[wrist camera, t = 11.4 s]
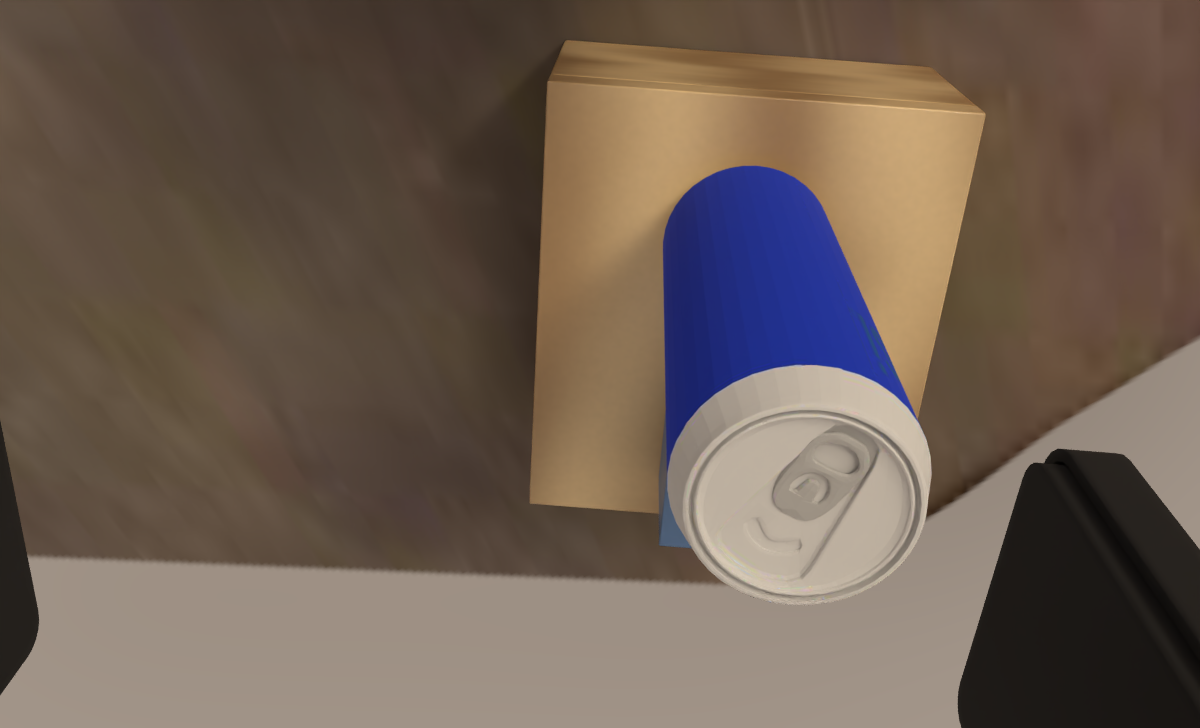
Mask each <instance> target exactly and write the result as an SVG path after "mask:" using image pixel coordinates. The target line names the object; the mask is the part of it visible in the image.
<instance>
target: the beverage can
mask: <svg viewBox="0 0 1200 728" xmlns="http://www.w3.org/2000/svg"><path fill="white" fill-rule="evenodd" d="M663 286H664V342H665V398H666V455H667V492H668V497H669V503H670V507H671V510H672V513H673V515H674V518H675V521H676V523H677V525H678V526H679V528H680V530H681V531H682V533H683V535H684V536H685V538H686V540H687V541H688V543H689V544H690V546H691V547H692V549H693V550H694V552H695V553H696V555H697V557H698V558H699V559H700V561H701V562H702V563H703V564H704V565H705V566H706V568H707V569H708V570H709V571H710V572H711V573H713V574H714V575H715V576H716V577H717V578H719V579H720V580H721V581H722V582H724V583H726V584H727V585H729V586H731V587H732V588H734V589H736V590H737V591H739V592H742V593H744V594H747V595H749V596H751V597H753V598H757V599H760V600H764V601H768V602H772V603H778V604H785V605H814V604H825V603H829V602H833V601H838V600H843V599H845V598H848V597H851V596H853V595H856V594H859V593H861V592H863V591H865V590H867V589H869V588H871V587H873V586H875V585H876V584H878V583H879V582H881V581H882V580H883V579H885V578H886V577H888V576H889V575H890V574H891V573H892V572H893V571H895V569H897V568H898V567H899V566H900V565H901V564H902V563H903V562H904V560H905V559H906V558H907V556H908V555H909V554H910V552H911V551H912V550H913V548H914V546H915V544H916V542H917V541H918V539H919V537H920V534H921V532H922V528H923V526H924V522H925V519H926V512H927V505H928V496H929V489H930V482H931V457H930V453H929V449H928V444H927V440H926V438H925V435H924V433H923V431H922V429H921V426H920V424H919V422H918V420H917V417H916V415H915V413H914V411H913V408H912V406H911V404H910V402H909V399H908V397H907V395H906V393H905V390H904V388H903V386H902V384H901V382H900V379H899V377H898V375H897V373H896V370H895V368H894V366H893V364H892V361H891V359H890V357H889V355H888V352H887V350H886V348H885V346H884V343H883V341H882V339H881V337H880V334H879V332H878V330H877V328H876V325H875V323H874V321H873V319H872V316H871V314H870V312H869V310H868V307H867V305H866V303H865V301H864V298H863V296H862V294H861V292H860V289H859V287H858V285H857V283H856V281H855V278H854V276H853V274H852V272H851V269H850V267H849V265H848V263H847V260H846V258H845V256H844V254H843V251H842V249H841V247H840V245H839V242H838V240H837V238H836V236H835V233H834V231H833V229H832V227H831V224H830V222H829V220H828V218H827V215H826V213H825V211H824V209H823V207H822V205H821V203H820V202H819V200H818V199H817V198H816V196H815V195H814V194H813V193H812V192H811V190H810V189H809V188H808V187H807V186H806V185H804V184H803V183H802V182H800V181H799V180H797V179H796V178H795V177H793V176H791V175H789V174H787V173H785V172H782V171H779V170H776V169H773V168H769V167H762V166H739V167H732V168H728V169H725V170H722V171H718V172H716V173H714V174H712V175H710V176H708V177H706V178H704V179H702V180H701V181H700V182H698V183H697V184H695V185H694V186H693V187H692V188H690V189H689V190H688V191H687V192H686V193H685V194H684V195H683V196H682V198H681V199H680V200H679V202H678V203H677V204H676V206H675V207H674V209H673V211H672V213H671V215H670V217H669V219H668V222H667V225H666V228H665V233H664V239H663Z"/></svg>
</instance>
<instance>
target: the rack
mask: <svg viewBox="0 0 1200 728" xmlns="http://www.w3.org/2000/svg"><path fill="white" fill-rule="evenodd" d="M985 117H986V114H985V113H984V112H983V111H982V110H981V109H980V108H978V107H977V106H976V105H974V104H973V103H972V102H971V101H970V100H969V99H967V98H966V97H965V96H964V95H963V94H962V93H960V92H959V91H958V90H957V89H956V88H954V87H953V86H952V85H951V84H950V83H949V82H947V81H946V80H945V79H944V78H943V77H942V76H940V75H939V74H938V73H937V72H936V71H935V70H933V69H932V68H931V67H921V66H908V65H894V64H881V63H867V62H854V61H840V60H827V59H813V58H800V57H786V56H773V55H759V54H746V53H733V52H719V51H706V50H692V49H679V48H665V47H652V46H638V45H625V44H611V43H598V42H585V41H571V40H566V41H565V42H564V44H563V47H562V49H561V51H560V54H559V56H558V58H557V61H556V63H555V65H554V68H553V70H552V73H551V75H550V77H549V79H548V81H547V96H546V120H545V144H544V167H543V191H542V215H541V239H540V263H539V286H538V310H537V334H536V358H535V382H534V405H533V429H532V453H531V477H530V501H529V502H530V503H531V504H543V505H556V506H568V507H581V508H594V509H606V510H619V511H631V512H644V513H657V514H659V469H660V459H661V450H662V440H663V430H664V421H665V411H666V398H665V342H664V286H663V239H664V233H665V228H666V225H667V222H668V219H669V217H670V215H671V213H672V211H673V209H674V207H675V206H676V204H677V203H678V202H679V200H680V199H681V198H682V196H683V195H684V194H685V193H686V192H687V191H688V190H689V189H690V188H692V187H693V186H694V185H695V184H697V183H698V182H700V181H701V180H702V179H704V178H706V177H708V176H710V175H712V174H714V173H716V172H718V171H722V170H725V169H728V168H732V167H739V166H762V167H769V168H773V169H776V170H779V171H782V172H785V173H787V174H789V175H791V176H793V177H795V178H796V179H797V180H799V181H800V182H802V183H803V184H804V185H806V186H807V187H808V188H809V189H810V190H811V192H812V193H813V194H814V195H815V196H816V198H817V199H818V200H819V202H820V203H821V205H822V207H823V209H824V211H825V213H826V215H827V218H828V220H829V222H830V224H831V227H832V229H833V231H834V233H835V236H836V238H837V240H838V242H839V245H840V247H841V249H842V251H843V254H844V256H845V258H846V260H847V263H848V265H849V267H850V269H851V272H852V274H853V276H854V278H855V281H856V283H857V285H858V287H859V289H860V292H861V294H862V296H863V298H864V301H865V303H866V305H867V307H868V310H869V312H870V314H871V316H872V319H873V321H874V323H875V325H876V328H877V330H878V332H879V334H880V337H881V339H882V341H883V343H884V346H885V348H886V350H887V352H888V355H889V357H890V359H891V361H892V364H893V366H894V368H895V370H896V373H897V375H898V377H899V379H900V382H901V384H902V386H903V388H904V390H905V393H906V395H907V397H908V399H909V402H910V404H911V406H912V408H913V411H914V413H915V415H916V417H917V419H918V415H919V410H920V406H921V401H922V397H923V393H924V388H925V384H926V379H927V375H928V370H929V366H930V361H931V357H932V352H933V348H934V344H935V339H936V335H937V330H938V326H939V321H940V317H941V312H942V308H943V304H944V299H945V295H946V290H947V286H948V281H949V277H950V272H951V268H952V263H953V259H954V255H955V250H956V246H957V241H958V237H959V232H960V228H961V223H962V219H963V215H964V210H965V206H966V201H967V197H968V192H969V188H970V183H971V179H972V174H973V170H974V166H975V161H976V157H977V152H978V148H979V143H980V139H981V134H982V130H983V125H984V121H985Z"/></svg>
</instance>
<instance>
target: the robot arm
mask: <svg viewBox="0 0 1200 728" xmlns="http://www.w3.org/2000/svg"><path fill="white" fill-rule="evenodd" d="M38 626H39V615H38V607H37V602H36V597H35V592H34V587H33V582H32V577H31V572H30V568H29V562H28V557H27V552H26V547H25V542H24V537H23V532H22V527H21V522H20V517H19V512H18V507H17V502H16V497H15V492H14V487H13V482H12V477H11V472H10V467H9V462H8V457H7V452H6V447H5V442H4V437H3V432H2V427H1V422H0V695H1V693H2V692H3V690H4V689H5V688H6V686H7V685H8V684H9V682H10V681H11V679H12V678H13V677H14V675H15V674H16V672H17V671H18V670H19V668H20V667H21V665H22V664H23V663H24V661H25V660H26V658H27V657H28V655H29V654H30V652H31V650H32V648H33V646H34V643H35V640H36V637H37V632H38ZM958 714H959V721H960V724H961V728H1200V549H1199V548H1198V547H1197V546H1196V544H1195V543H1194V542H1193V540H1192V539H1191V538H1190V537H1189V535H1188V534H1187V533H1186V531H1185V530H1184V529H1183V528H1182V526H1181V525H1180V524H1179V523H1178V521H1177V520H1176V519H1175V517H1174V516H1173V515H1172V513H1171V512H1170V511H1169V510H1168V508H1167V507H1166V506H1165V505H1164V503H1163V502H1162V501H1161V499H1160V498H1159V497H1158V496H1157V494H1156V493H1155V492H1154V490H1153V489H1152V488H1151V487H1150V486H1149V484H1148V483H1147V482H1146V480H1145V479H1144V478H1143V476H1142V475H1141V474H1140V473H1139V471H1138V470H1137V469H1136V467H1135V466H1134V465H1133V464H1132V462H1131V461H1130V460H1129V459H1128V458H1127V457H1125V456H1124V455H1122V454H1116V453H1105V452H1092V451H1079V450H1067V449H1057V450H1055V451H1053V452H1051V453H1050V455H1049V456H1048V457H1047V459H1046V461H1045V463H1033V464H1031V465H1030V466H1029V467H1028V469H1027V470H1026V472H1025V474H1024V477H1023V479H1022V483H1021V486H1020V489H1019V492H1018V495H1017V499H1016V502H1015V505H1014V509H1013V512H1012V515H1011V519H1010V522H1009V525H1008V528H1007V531H1006V535H1005V538H1004V541H1003V545H1002V548H1001V551H1000V554H999V558H998V561H997V564H996V567H995V571H994V574H993V578H992V581H991V584H990V587H989V590H988V594H987V597H986V600H985V603H984V607H983V610H982V614H981V617H980V620H979V623H978V626H977V630H976V633H975V636H974V639H973V643H972V646H971V650H970V653H969V656H968V659H967V662H966V666H965V669H964V672H963V675H962V679H961V682H960V686H959V691H958Z"/></svg>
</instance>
